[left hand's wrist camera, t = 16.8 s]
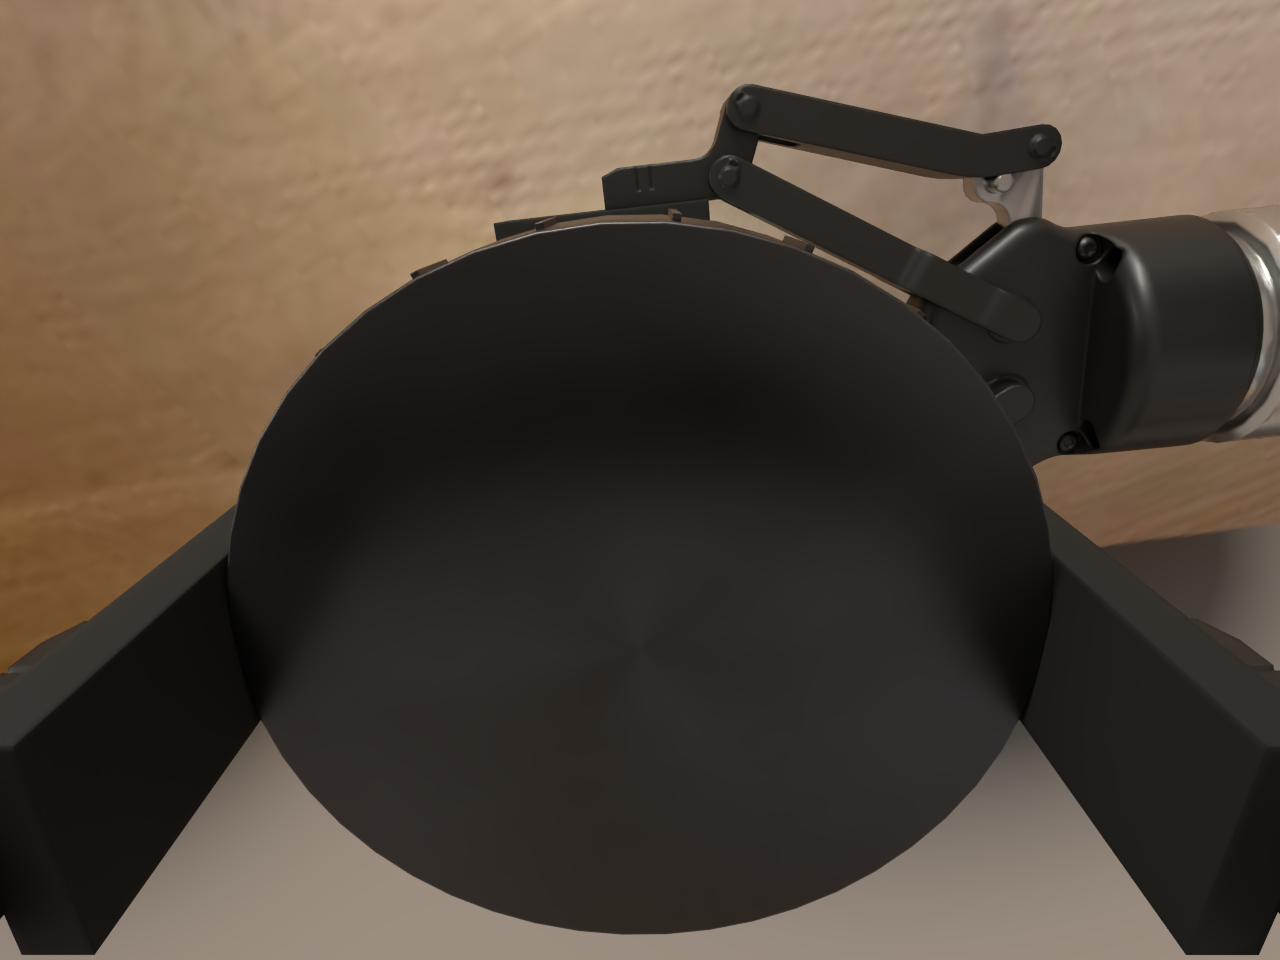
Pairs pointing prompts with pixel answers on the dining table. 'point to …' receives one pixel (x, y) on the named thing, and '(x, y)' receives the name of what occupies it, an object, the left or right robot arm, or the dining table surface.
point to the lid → (640, 576)
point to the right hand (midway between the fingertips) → (530, 399)
